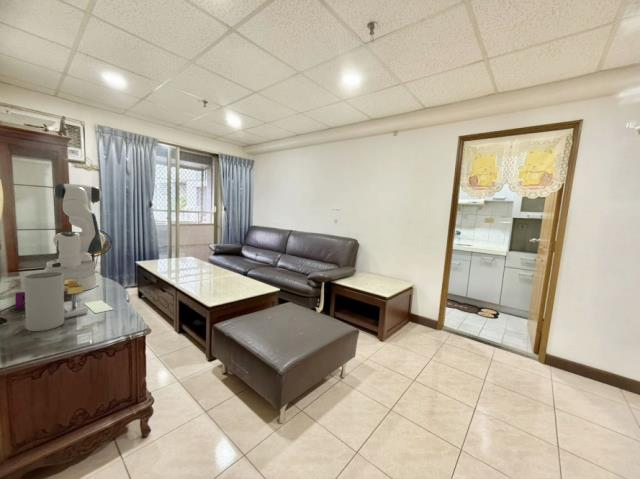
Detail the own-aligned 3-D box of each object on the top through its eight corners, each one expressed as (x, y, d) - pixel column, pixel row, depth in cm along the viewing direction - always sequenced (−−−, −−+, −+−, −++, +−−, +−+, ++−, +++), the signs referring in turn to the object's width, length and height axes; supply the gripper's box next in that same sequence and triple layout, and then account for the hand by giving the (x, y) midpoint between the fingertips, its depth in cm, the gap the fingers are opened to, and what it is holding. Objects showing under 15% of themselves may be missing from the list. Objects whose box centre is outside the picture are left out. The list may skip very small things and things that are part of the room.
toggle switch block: (55, 308, 141) (55, 287, 140) (77, 304, 148) (77, 284, 147) (64, 318, 131) (64, 295, 130) (87, 313, 139) (87, 292, 137)
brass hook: (59, 287, 141) (59, 275, 140) (74, 284, 146) (74, 274, 145) (67, 294, 132) (67, 282, 131) (83, 291, 137) (83, 280, 136)
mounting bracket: (19, 313, 145) (15, 308, 133) (20, 298, 147) (15, 292, 135) (44, 309, 152) (41, 305, 140) (44, 295, 154) (41, 290, 141)
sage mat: (84, 304, 150) (84, 303, 150) (101, 300, 157) (101, 300, 157) (95, 313, 139) (95, 312, 139) (113, 309, 146) (113, 309, 146)
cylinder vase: (23, 326, 120) (21, 274, 118) (59, 318, 131) (58, 270, 128) (29, 334, 114) (28, 280, 111) (68, 325, 124) (67, 275, 122)
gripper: (93, 258, 148) (93, 281, 149) (41, 262, 131) (42, 288, 133) (96, 260, 145) (97, 284, 146) (44, 265, 128) (45, 291, 129)
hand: (70, 286), depth 139 cm, fingers closed on brass hook, 3 cm apart
